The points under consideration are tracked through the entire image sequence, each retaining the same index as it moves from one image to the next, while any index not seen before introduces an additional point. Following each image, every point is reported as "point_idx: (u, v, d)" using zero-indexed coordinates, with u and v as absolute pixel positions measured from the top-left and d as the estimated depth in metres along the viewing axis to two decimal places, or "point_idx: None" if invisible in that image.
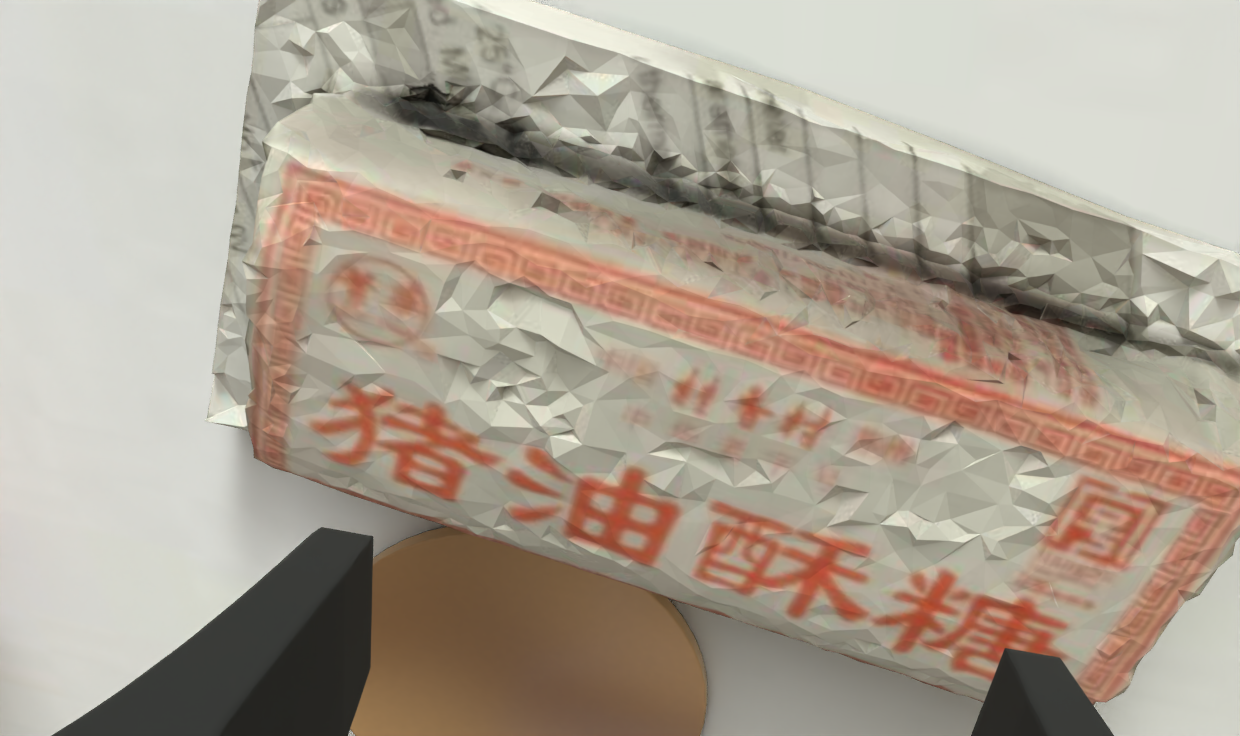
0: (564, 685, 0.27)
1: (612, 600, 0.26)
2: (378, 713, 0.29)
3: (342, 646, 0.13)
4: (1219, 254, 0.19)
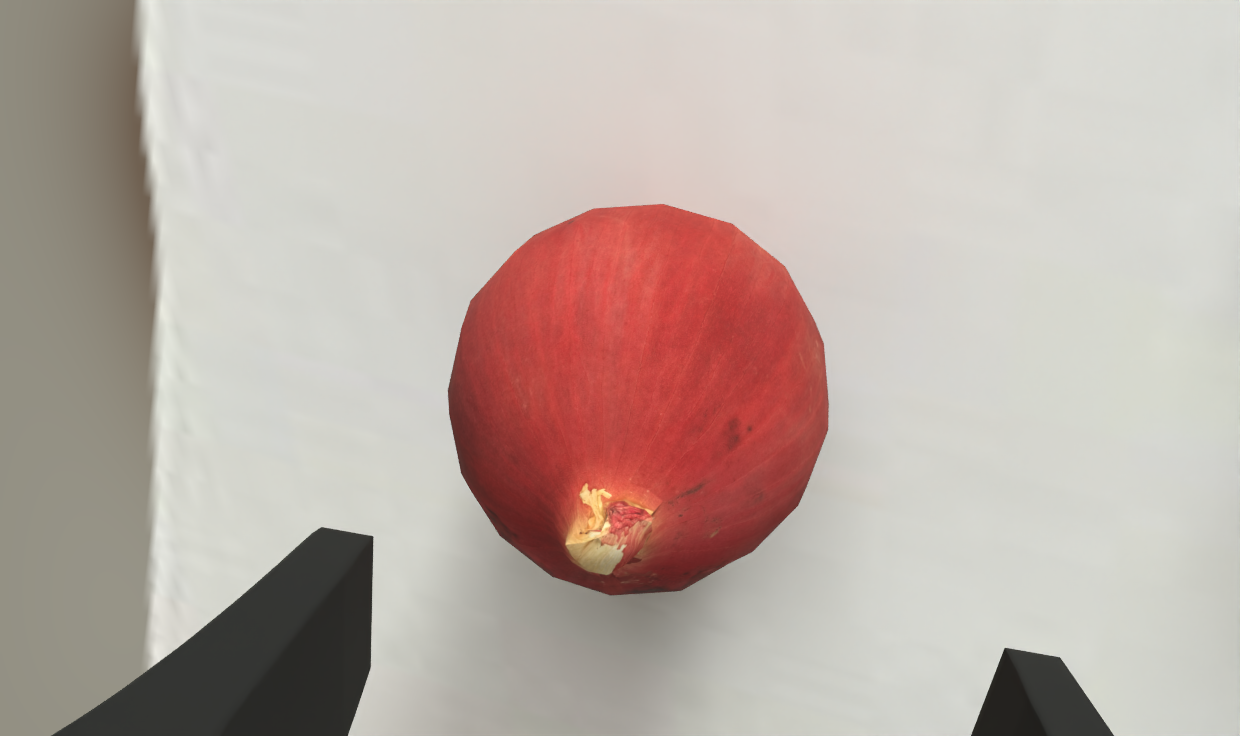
0: None
1: None
2: None
3: (342, 646, 0.13)
4: None
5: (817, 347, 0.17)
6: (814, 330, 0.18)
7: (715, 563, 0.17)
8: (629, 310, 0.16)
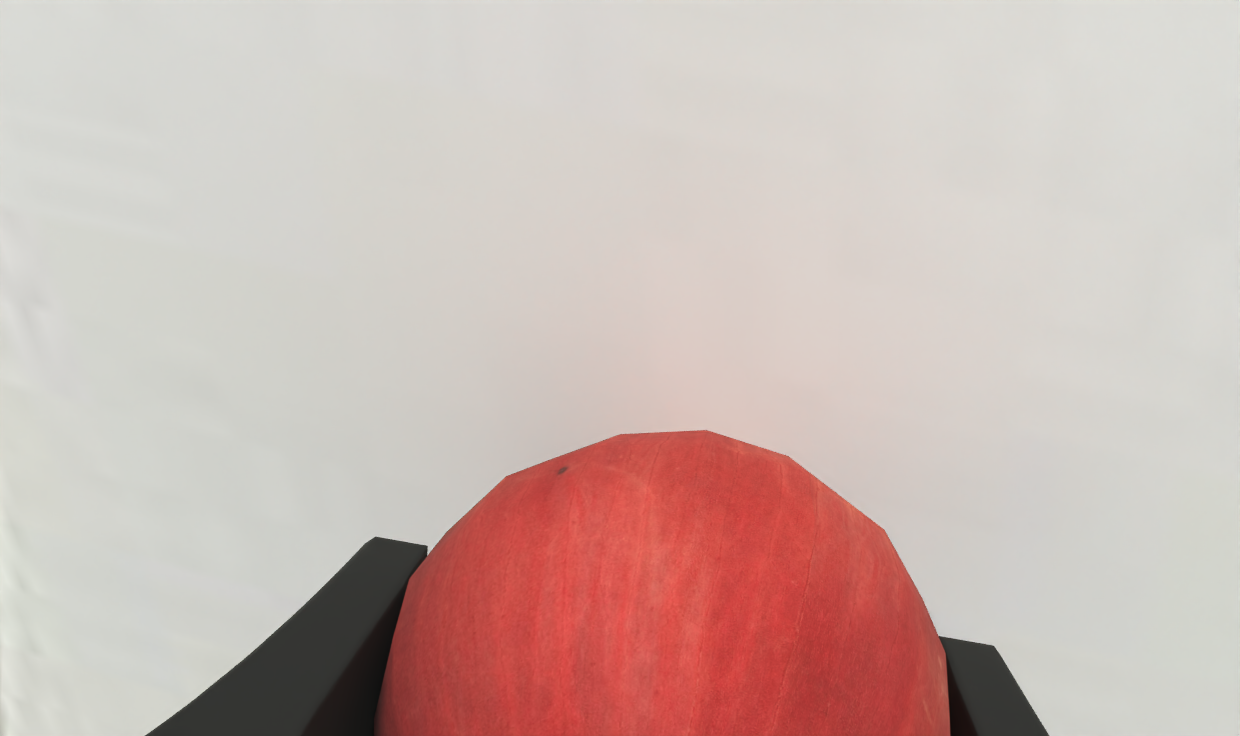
0: None
1: None
2: None
3: None
4: None
5: (941, 669, 0.11)
6: (934, 638, 0.11)
7: None
8: (661, 668, 0.10)
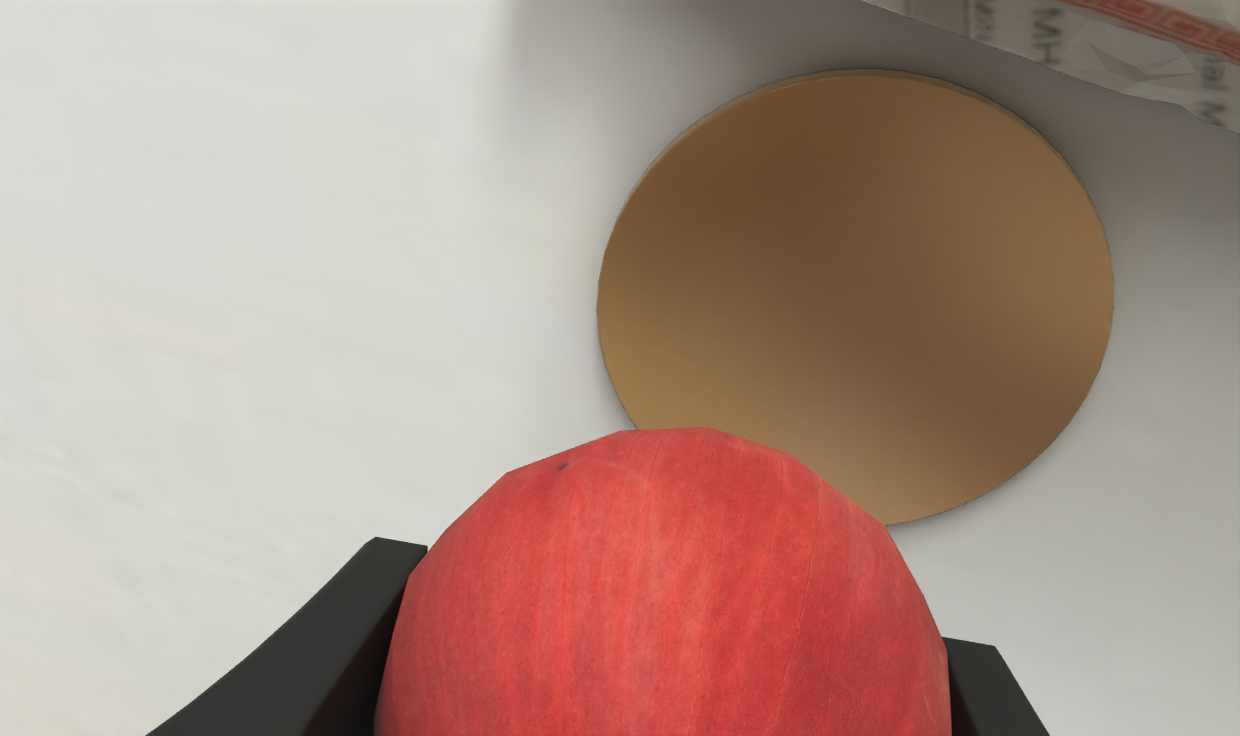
0: (919, 316, 0.21)
1: (1010, 175, 0.19)
2: (659, 371, 0.22)
3: None
4: None
5: (942, 666, 0.11)
6: (935, 635, 0.11)
7: None
8: (661, 664, 0.10)
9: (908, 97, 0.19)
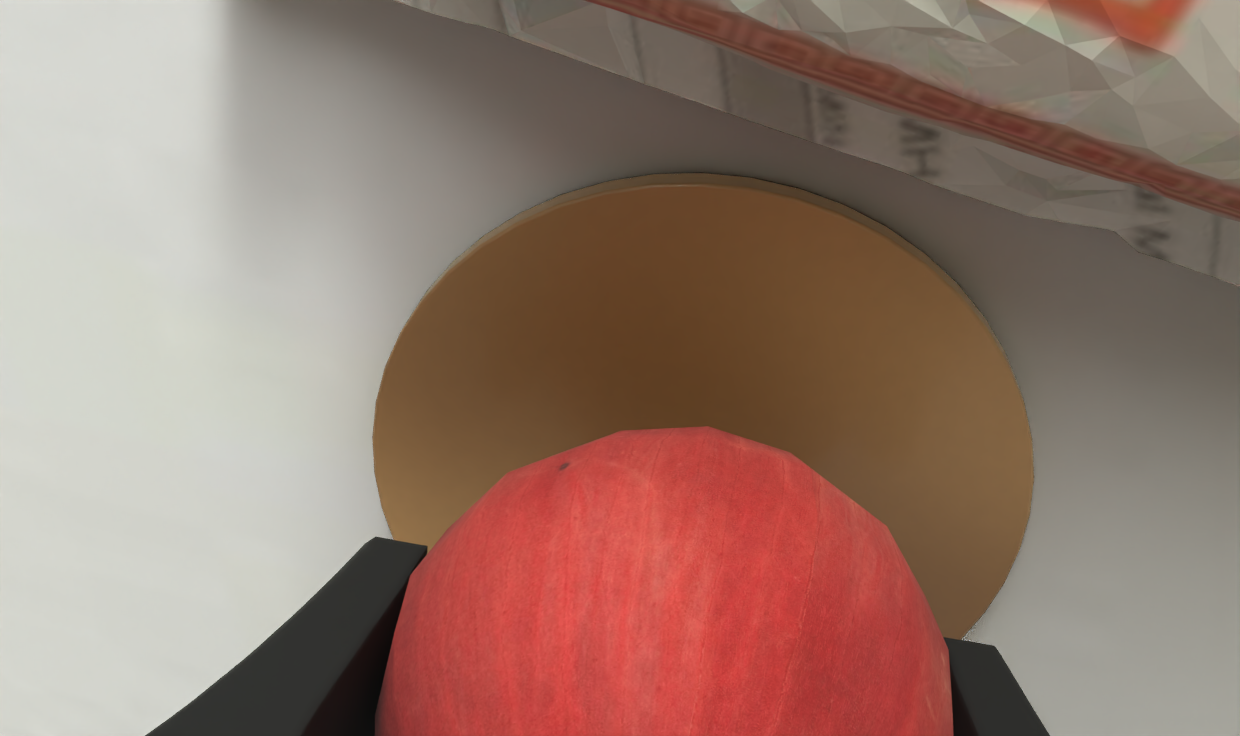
0: None
1: (889, 313, 0.15)
2: None
3: None
4: None
5: (944, 666, 0.11)
6: (937, 635, 0.11)
7: None
8: (662, 664, 0.10)
9: (749, 212, 0.14)
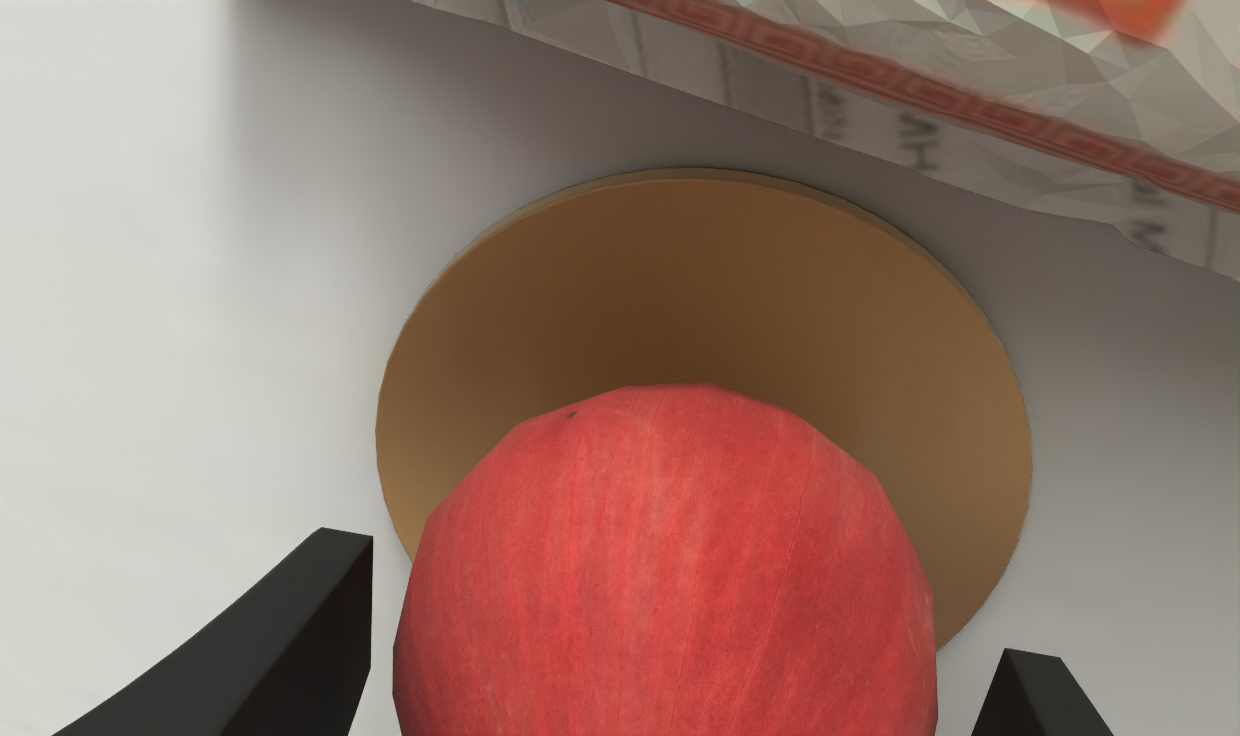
0: None
1: (888, 306, 0.15)
2: None
3: (342, 646, 0.13)
4: None
5: (927, 605, 0.12)
6: (922, 577, 0.12)
7: None
8: (660, 588, 0.10)
9: (749, 207, 0.14)
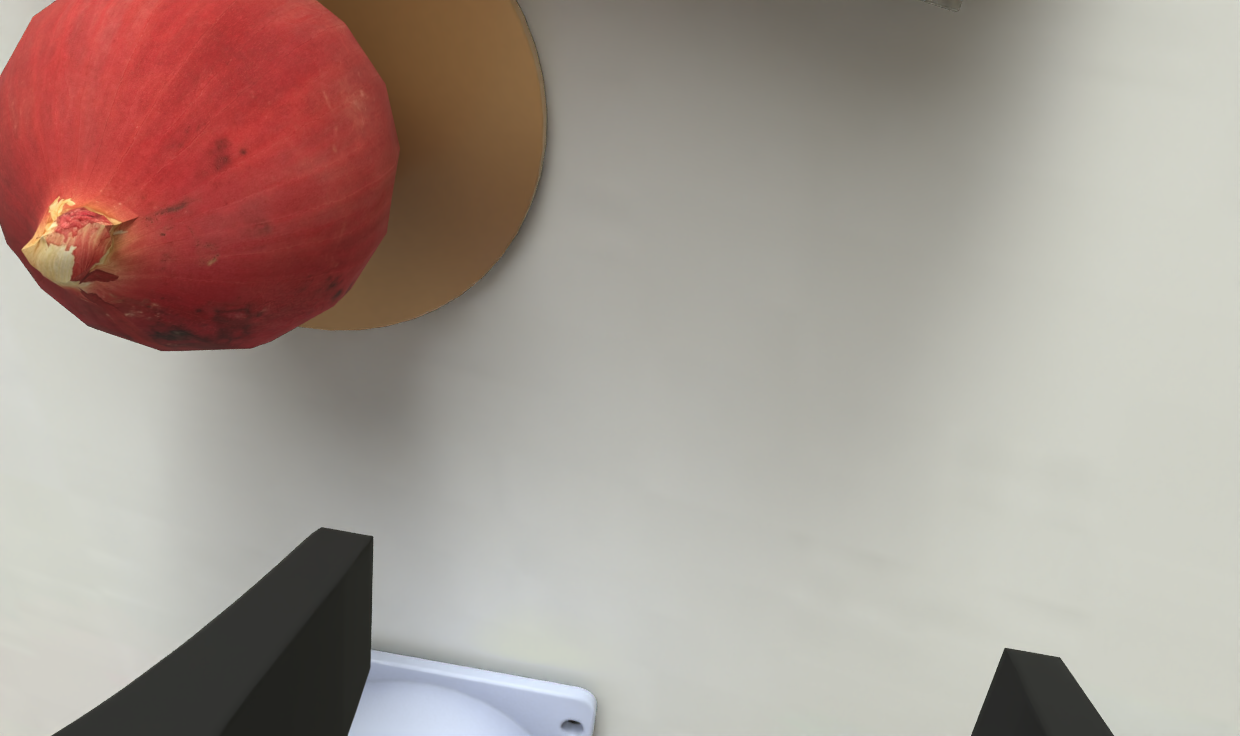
0: None
1: None
2: None
3: (342, 646, 0.13)
4: None
5: (360, 96, 0.17)
6: (362, 81, 0.17)
7: (231, 302, 0.16)
8: (120, 30, 0.15)
9: None
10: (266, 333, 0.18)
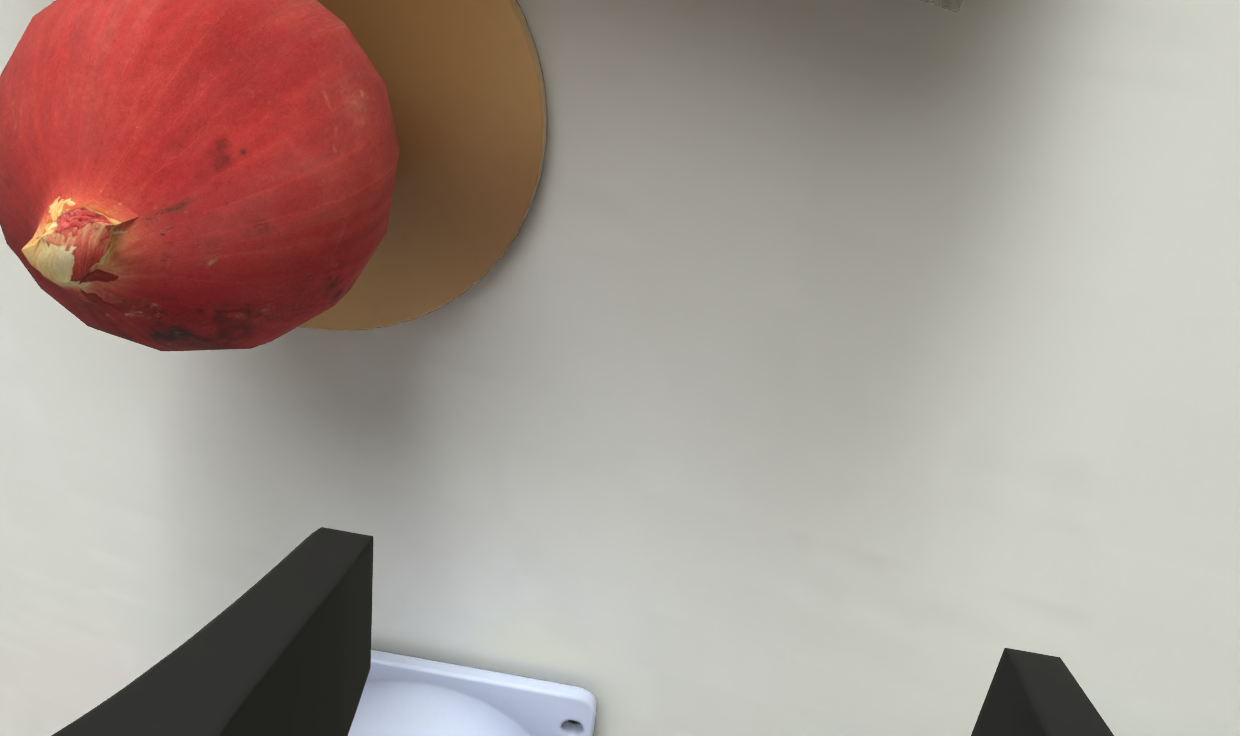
0: None
1: None
2: None
3: (342, 646, 0.13)
4: None
5: (360, 96, 0.17)
6: (362, 81, 0.17)
7: (231, 302, 0.16)
8: (120, 30, 0.15)
9: None
10: (266, 333, 0.18)
